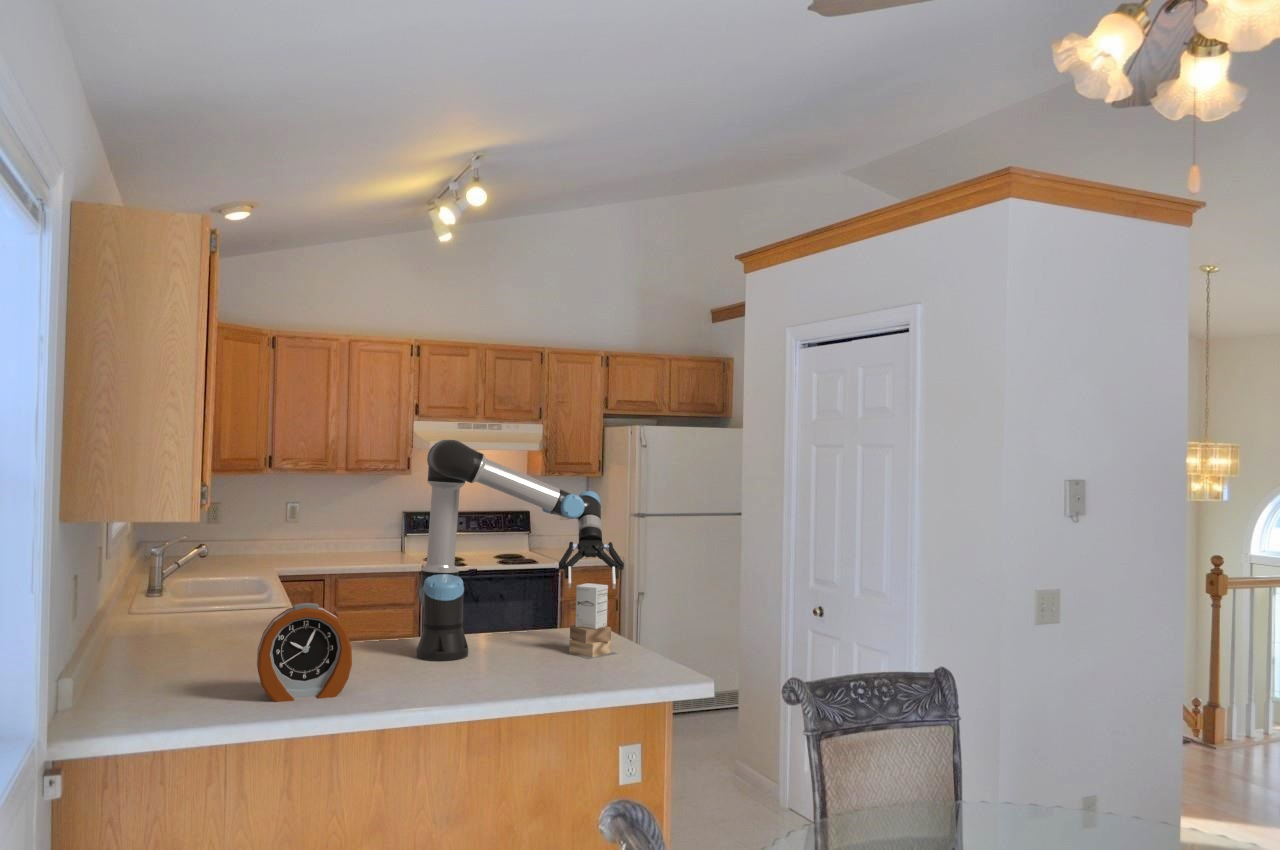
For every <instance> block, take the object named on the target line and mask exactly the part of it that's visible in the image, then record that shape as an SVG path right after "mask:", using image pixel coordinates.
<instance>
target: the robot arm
mask: <svg viewBox="0 0 1280 850" xmlns="http://www.w3.org/2000/svg"><path fill="white" fill-rule="evenodd" d="M426 459H427V460H426V462H427V465H428V467H427V468H428V470H427V483H428V484H429V485H430V487H431V497H430V498H431V499H430V511H429V524H428V525H429V526H428V527H429V528H428V540H427V552H426V554H427V555H426V564H425V565H424V566H422V568H421V569H420V581H419V584H418V588H417V597H418V601H419V603H420V604H421V606H422V607H423V621H422V623H423V626H422V633H421V635H420V639H419V642H418V646H417V648H416V657H417V658H418V659H420V660H426V661H439V662H440V661H444V662H445V661H455V660H460V659H464V658H467V657H468V656H469V646H468V642H467V640H466V639H467V638H466V635H465V632H464V629H463V627H464V592H465V586H464V581H463V579H462V577H460V576H459V575H460V574H459V572H460V570H459V568H458V567H457V566H456V565H455V562H456V549H457V546H456V545H457V532H458V519H459V503H460V490H461V488H462V487H463V486H464V485H465V484H466V482H467V483H469V484H474V483H475V482H476V483H479V484H481V485H484V486H487V487H489V488H492V489H494V490H497V491H499V492H501V493H504V494H507V495H509V496H512V497H514V498H516V499H519V500H521V501H524V502H527V503H528V504H532V505H534V506H537V507H539V508H541V510H542V512H543V513H546V514H550V515H555V516H559V517H563V518H566V519H569V520H577V523H578V524H577V525H578V543H574V541H569V543H568V548H567V549H566V551H565V552H564V554H563V555H562V558H561V559H560V561H559V562H558V569H559V570H563V571H564V579H567V581H568V589H569V590H570V589H571V588H572V567H574V566H575V565H576V563H578V562H579V561H580V560H582V559H583V558H584V557H585V558H596V557H597V558H598V559H600V560H602V561H603V562H604V563H605V564H606V565H607V566H608V567H609V568H611V580H612V582H611V583H612V590H616V583H617V582H616V581H617V580H618V579H619V573H620V571H623V570H624V565H625V562H624V561H623V560H622V558H621V557H620V556H619V554H618V552H617V551H616V550H615V548H614V545H613V543H612V542H611V541H610V542H608V543H605V544H604V543H603V532H602V530H603V529H602V505H601V499H600V496H599V494H598V493H596V492H595V491H591V490H588V491H585V490H584V491H583V492H580V494H579V495H577V494H575V493H570V492H568V491H565V490H563V489H560V488H558V487H556V486H554V485H551V484H549V483H546V482H544V481H541V480H539V479H537V478H534V477H531V476H529V475H528V474H524V473H522V472H519V471H516V470H515V469H512V468H510V467H507V466H505V465H502V464H500V463H497V462H495V461H493V460H490V459H489V458H486V456H485V454H484V453H482V452H479V451H477V450H475V449H473V448H472V447H470V446H468V445H466V444H465V443H463V442H461V441H460V440H456V439H442V440H439V441H438V442H435V443H434V444H433V445H432V446H431V447H430V449H429V450H428V454H427V457H426ZM576 549H577V552H576V553H575V554H573V552H574V551H576ZM605 550H606V552H608V553H606V552H605ZM572 554H573V556H572ZM608 554H609V555H610V556H609V555H608ZM571 556H572V557H571ZM570 557H571V558H570ZM619 570H620V571H619Z"/></svg>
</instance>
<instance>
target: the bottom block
mask: <svg viewBox="0 0 1280 850" xmlns="http://www.w3.org/2000/svg"><path fill="white" fill-rule="evenodd" d="M568 649H569V651H568V652H569V653H570V654H576V655H581V656H587V657H596V656H600V655H604V654H608V653H611V652H612V640H611V641H605V642H597V643H589V644H585V643H581V642H578V641H575V640H572V639H570V640H569V647H568ZM570 654H569V655H570Z"/></svg>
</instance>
